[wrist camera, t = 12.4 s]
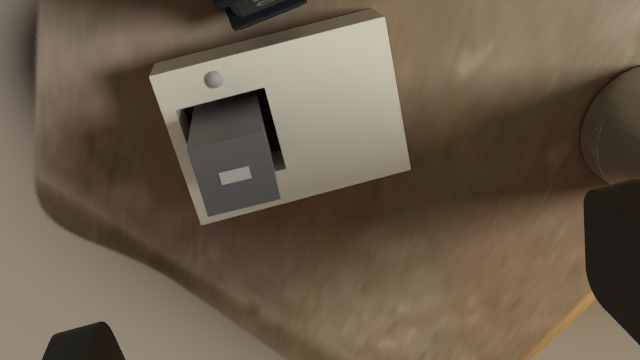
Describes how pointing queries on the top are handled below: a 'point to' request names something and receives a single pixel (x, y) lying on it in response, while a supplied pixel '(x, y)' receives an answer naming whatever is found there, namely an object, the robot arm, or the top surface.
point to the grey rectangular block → (232, 154)
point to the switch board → (300, 103)
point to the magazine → (254, 10)
